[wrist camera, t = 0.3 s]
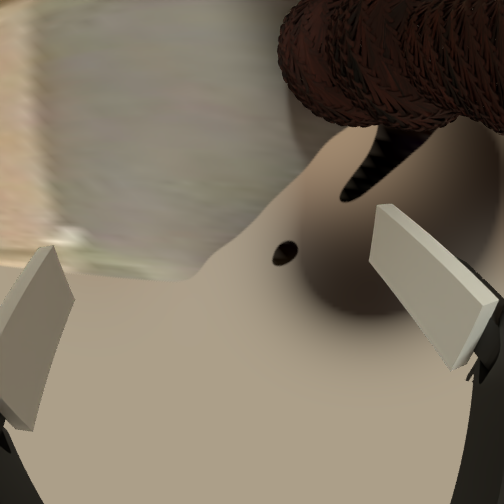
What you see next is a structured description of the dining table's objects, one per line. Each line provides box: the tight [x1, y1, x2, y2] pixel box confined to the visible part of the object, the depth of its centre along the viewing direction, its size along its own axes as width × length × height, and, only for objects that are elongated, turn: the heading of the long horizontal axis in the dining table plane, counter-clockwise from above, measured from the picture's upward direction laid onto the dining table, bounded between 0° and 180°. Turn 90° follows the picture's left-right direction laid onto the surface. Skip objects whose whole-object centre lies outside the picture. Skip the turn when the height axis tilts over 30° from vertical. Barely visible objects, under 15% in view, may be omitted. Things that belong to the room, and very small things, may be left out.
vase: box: [277, 0, 504, 135], centre depth 20 cm, size 15×15×30 cm
